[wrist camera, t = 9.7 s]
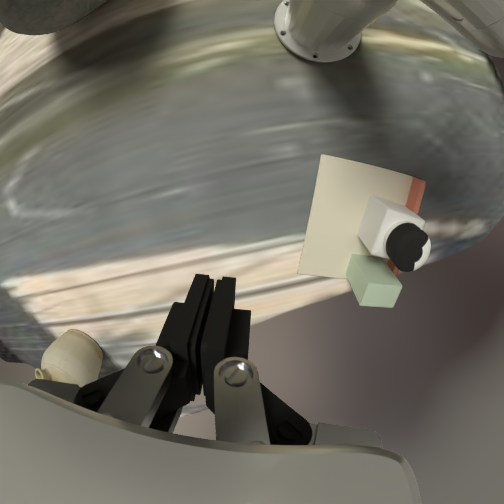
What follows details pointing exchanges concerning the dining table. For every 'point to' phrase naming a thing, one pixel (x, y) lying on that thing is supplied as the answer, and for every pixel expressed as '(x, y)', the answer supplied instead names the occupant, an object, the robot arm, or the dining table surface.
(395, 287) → the tea box
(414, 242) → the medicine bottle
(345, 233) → the cream flat block
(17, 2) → the ceramic pot
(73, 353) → the jug
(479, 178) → the dining table surface
